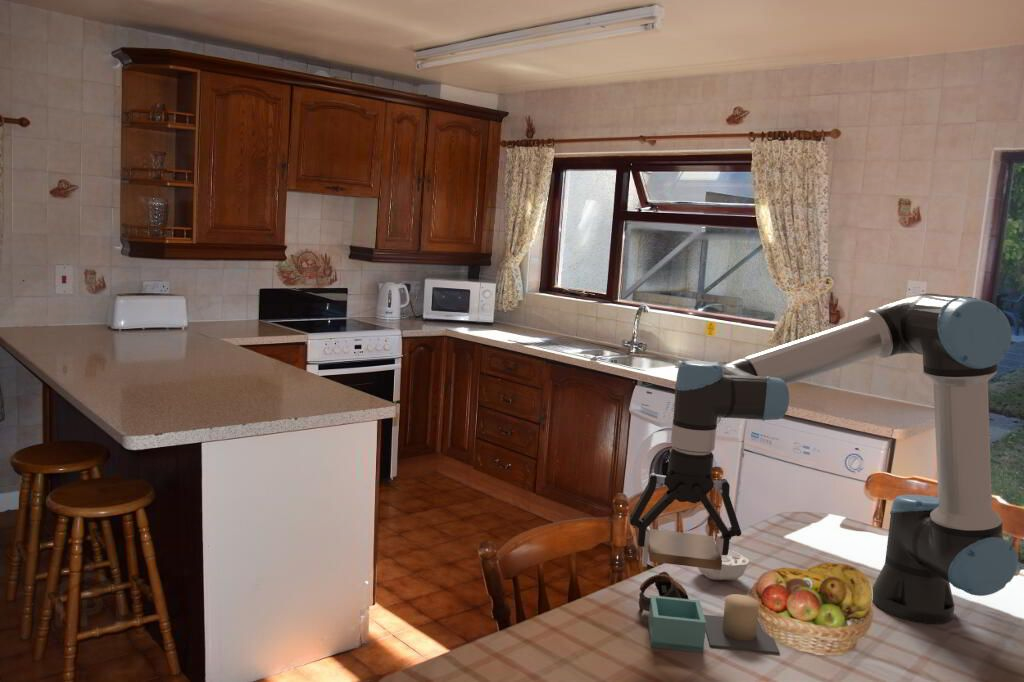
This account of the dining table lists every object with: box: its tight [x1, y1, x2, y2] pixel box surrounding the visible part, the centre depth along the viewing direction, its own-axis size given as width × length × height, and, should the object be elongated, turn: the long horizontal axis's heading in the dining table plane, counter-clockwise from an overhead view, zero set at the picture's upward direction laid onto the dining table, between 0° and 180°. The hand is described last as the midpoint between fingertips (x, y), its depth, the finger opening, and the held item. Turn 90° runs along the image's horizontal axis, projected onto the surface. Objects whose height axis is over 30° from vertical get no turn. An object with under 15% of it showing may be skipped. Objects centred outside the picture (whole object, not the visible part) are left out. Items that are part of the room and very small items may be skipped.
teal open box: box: [647, 595, 706, 654], centre depth 146 cm, size 9×9×6 cm
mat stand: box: [704, 593, 781, 655], centre depth 148 cm, size 12×12×6 cm
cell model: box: [696, 549, 751, 581], centre depth 174 cm, size 10×12×7 cm
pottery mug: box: [638, 571, 689, 612], centre depth 157 cm, size 12×10×8 cm
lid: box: [648, 528, 722, 570], centre depth 144 cm, size 12×12×2 cm
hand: (680, 567), depth 144 cm, fingers closed on lid, 12 cm apart
